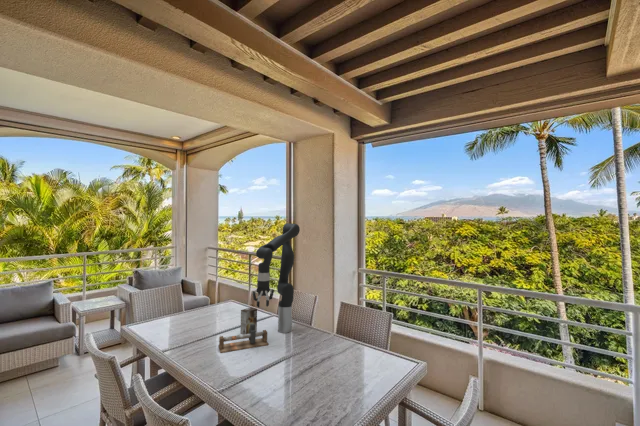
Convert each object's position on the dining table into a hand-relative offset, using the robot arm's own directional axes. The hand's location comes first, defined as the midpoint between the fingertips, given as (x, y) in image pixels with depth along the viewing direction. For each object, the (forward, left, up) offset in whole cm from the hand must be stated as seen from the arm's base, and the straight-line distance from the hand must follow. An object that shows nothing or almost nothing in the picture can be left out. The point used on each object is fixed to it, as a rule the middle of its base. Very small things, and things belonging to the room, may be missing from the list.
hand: (262, 306), depth 178 cm
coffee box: (+4, -19, -23) cm, 30 cm away
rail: (+11, 0, -22) cm, 25 cm away
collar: (+6, 0, -20) cm, 21 cm away
